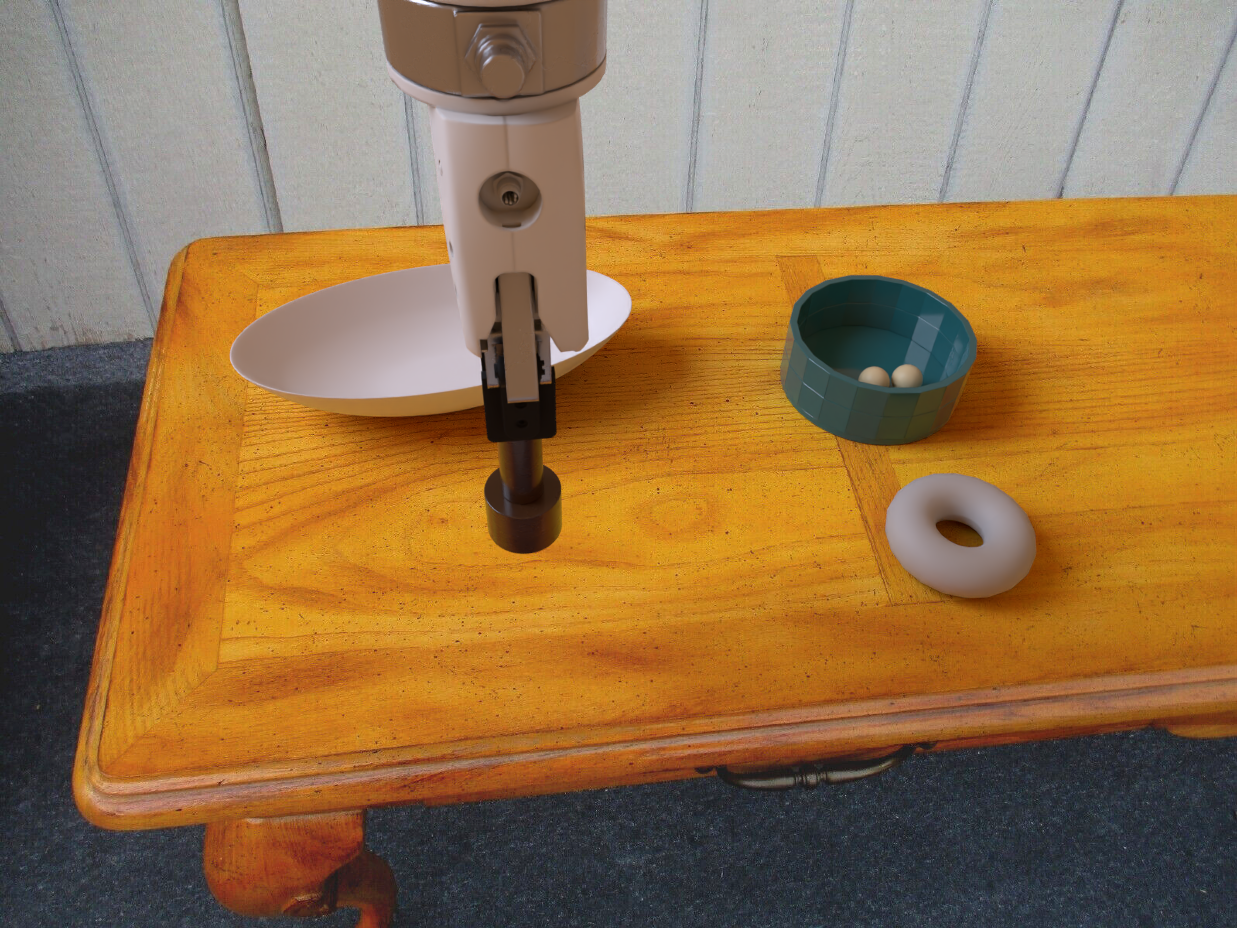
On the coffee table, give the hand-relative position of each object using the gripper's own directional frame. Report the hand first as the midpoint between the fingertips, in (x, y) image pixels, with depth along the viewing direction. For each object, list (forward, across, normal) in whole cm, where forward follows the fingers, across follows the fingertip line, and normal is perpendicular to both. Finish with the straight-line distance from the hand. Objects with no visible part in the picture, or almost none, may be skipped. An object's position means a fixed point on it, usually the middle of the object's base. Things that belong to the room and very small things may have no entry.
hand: (519, 411), depth 45 cm
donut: (+20, +4, -29) cm, 36 cm away
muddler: (+9, 0, 0) cm, 9 cm away
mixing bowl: (+20, +21, -29) cm, 41 cm away
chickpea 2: (+18, +19, -31) cm, 41 cm away
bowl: (+20, +25, +5) cm, 32 cm away
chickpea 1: (+18, +19, -28) cm, 39 cm away
